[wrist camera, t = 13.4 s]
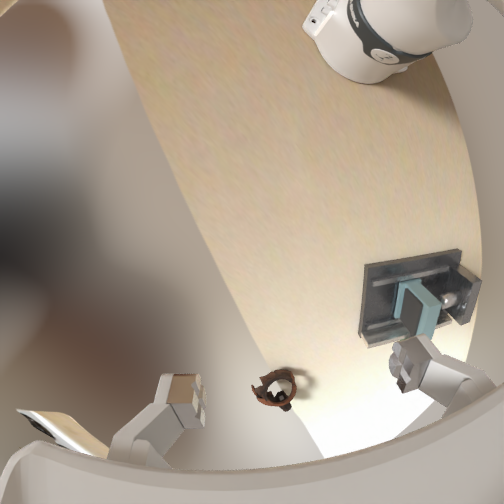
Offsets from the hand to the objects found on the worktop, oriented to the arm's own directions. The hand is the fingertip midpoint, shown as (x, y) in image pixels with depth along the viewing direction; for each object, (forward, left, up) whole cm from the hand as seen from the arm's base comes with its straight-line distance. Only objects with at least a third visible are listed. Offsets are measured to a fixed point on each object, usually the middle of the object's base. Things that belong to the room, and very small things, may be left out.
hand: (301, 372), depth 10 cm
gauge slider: (+13, +35, -32) cm, 49 cm away
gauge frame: (+10, +36, -34) cm, 51 cm away
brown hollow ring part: (+38, +14, -34) cm, 53 cm away
